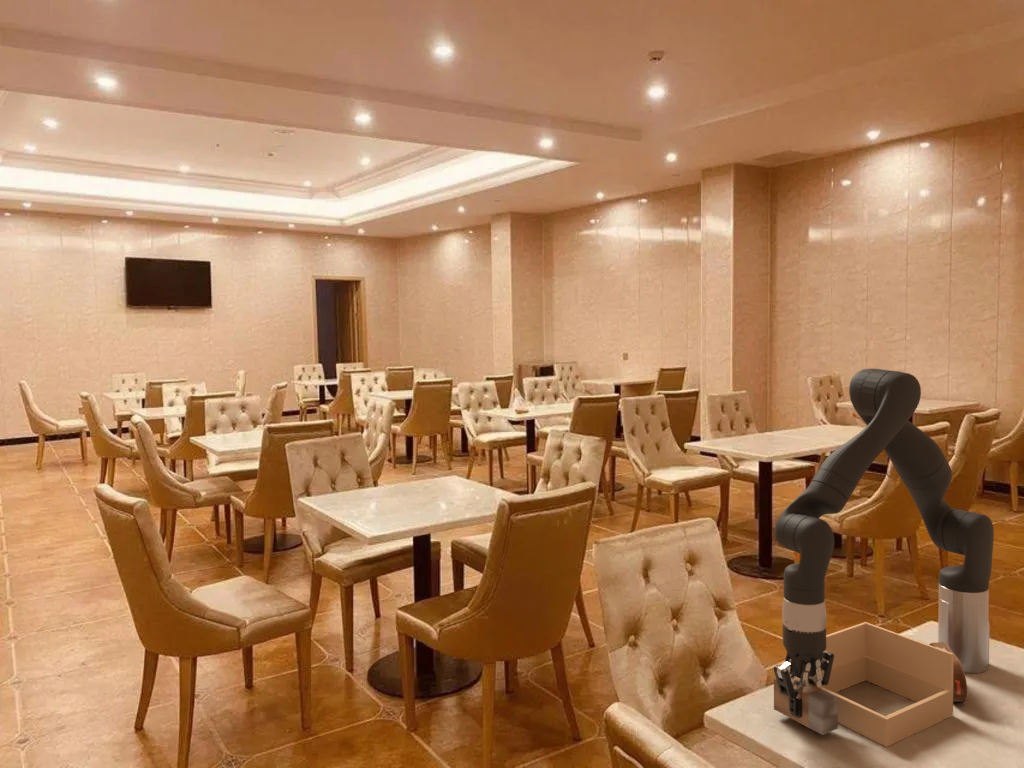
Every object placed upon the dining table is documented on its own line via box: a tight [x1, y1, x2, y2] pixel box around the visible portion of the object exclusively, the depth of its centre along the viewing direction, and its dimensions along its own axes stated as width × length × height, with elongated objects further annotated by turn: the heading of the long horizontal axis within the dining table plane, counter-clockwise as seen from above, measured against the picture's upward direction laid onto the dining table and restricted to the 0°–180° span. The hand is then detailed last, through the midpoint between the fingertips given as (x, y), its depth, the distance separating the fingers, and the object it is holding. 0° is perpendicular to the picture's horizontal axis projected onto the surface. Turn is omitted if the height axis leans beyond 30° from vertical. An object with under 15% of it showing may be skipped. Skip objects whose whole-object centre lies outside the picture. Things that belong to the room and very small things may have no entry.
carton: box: [821, 621, 954, 748], centre depth 149 cm, size 20×19×12 cm
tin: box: [928, 642, 968, 703], centre depth 155 cm, size 15×3×8 cm, turn 168°
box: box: [773, 676, 839, 736], centre depth 144 cm, size 4×11×6 cm, turn 29°
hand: (804, 712), depth 144 cm, fingers closed on box, 4 cm apart
